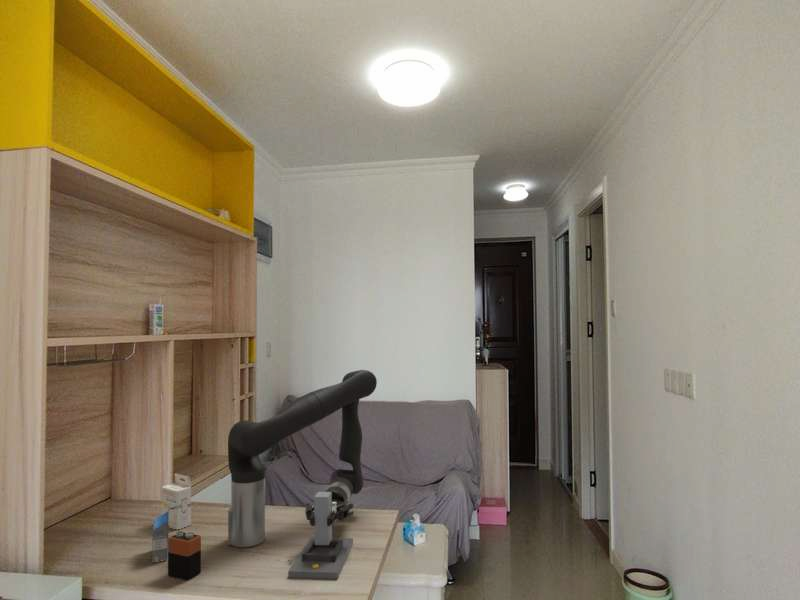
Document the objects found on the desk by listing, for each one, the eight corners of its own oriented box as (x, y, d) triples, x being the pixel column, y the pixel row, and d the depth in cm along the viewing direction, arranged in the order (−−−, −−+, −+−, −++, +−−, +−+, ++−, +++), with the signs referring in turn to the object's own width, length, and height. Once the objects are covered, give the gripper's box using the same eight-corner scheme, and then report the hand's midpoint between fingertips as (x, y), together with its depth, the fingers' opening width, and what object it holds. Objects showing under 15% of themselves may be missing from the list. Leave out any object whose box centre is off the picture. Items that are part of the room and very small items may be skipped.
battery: (187, 581, 119) (188, 538, 120) (166, 576, 122) (167, 533, 122) (201, 573, 123) (202, 531, 124) (181, 568, 126) (181, 527, 126)
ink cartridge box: (159, 525, 154) (160, 476, 155) (174, 520, 158) (175, 472, 159) (176, 531, 150) (177, 480, 151) (191, 525, 154) (192, 476, 155)
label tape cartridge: (153, 550, 137) (154, 503, 138) (169, 547, 138) (169, 501, 139) (151, 563, 129) (152, 514, 129) (168, 560, 130) (168, 512, 131)
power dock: (288, 577, 120) (288, 564, 120) (310, 542, 140) (310, 531, 140) (337, 579, 119) (337, 566, 119) (353, 543, 139) (353, 532, 139)
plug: (314, 544, 128) (314, 496, 129) (318, 538, 132) (318, 491, 133) (328, 545, 128) (327, 497, 128) (332, 538, 132) (331, 491, 132)
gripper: (311, 485, 145) (293, 506, 128) (359, 485, 144) (347, 507, 127) (311, 512, 145) (293, 536, 128) (359, 512, 144) (348, 537, 127)
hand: (320, 522), depth 128 cm, fingers closed on plug, 3 cm apart
